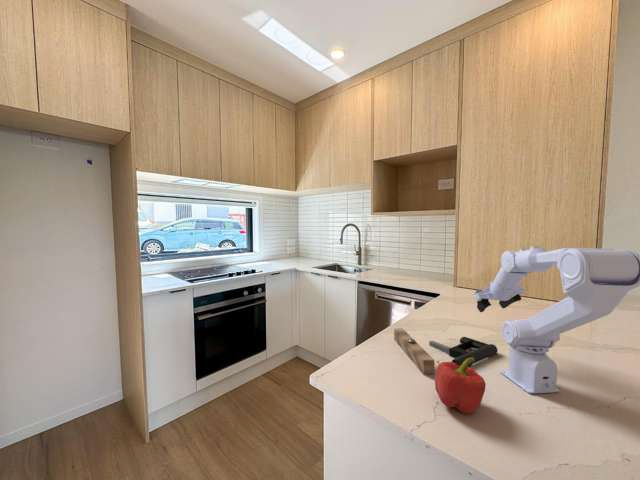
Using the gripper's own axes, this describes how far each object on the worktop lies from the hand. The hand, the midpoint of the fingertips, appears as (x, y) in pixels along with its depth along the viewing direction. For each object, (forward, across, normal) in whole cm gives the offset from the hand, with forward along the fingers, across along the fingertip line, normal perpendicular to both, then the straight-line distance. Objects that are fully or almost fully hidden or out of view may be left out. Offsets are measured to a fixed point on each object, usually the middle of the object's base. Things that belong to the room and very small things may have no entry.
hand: (490, 307), depth 89 cm
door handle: (+6, +15, +10) cm, 19 cm away
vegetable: (-10, +28, +27) cm, 41 cm away
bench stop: (+4, +30, +9) cm, 32 cm away
